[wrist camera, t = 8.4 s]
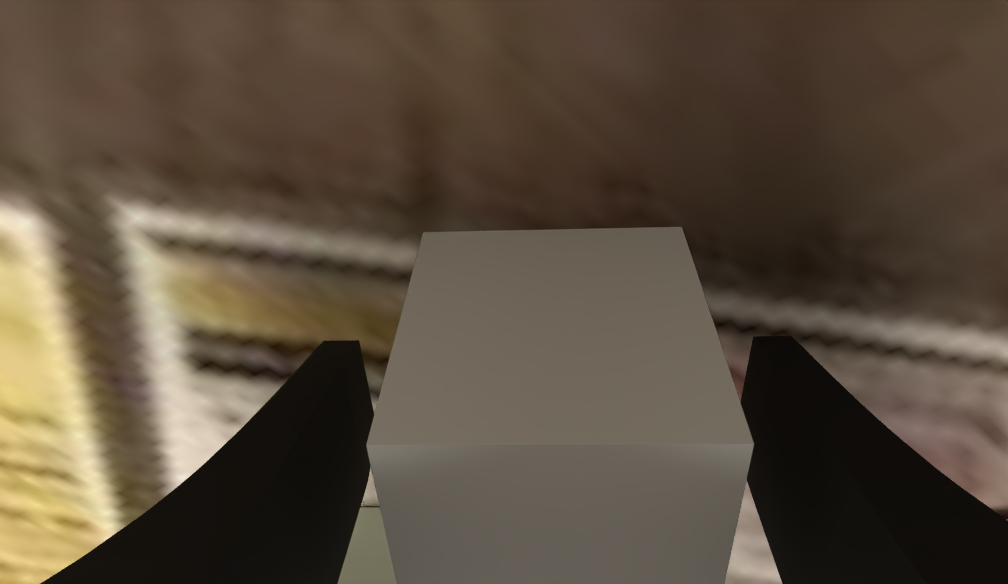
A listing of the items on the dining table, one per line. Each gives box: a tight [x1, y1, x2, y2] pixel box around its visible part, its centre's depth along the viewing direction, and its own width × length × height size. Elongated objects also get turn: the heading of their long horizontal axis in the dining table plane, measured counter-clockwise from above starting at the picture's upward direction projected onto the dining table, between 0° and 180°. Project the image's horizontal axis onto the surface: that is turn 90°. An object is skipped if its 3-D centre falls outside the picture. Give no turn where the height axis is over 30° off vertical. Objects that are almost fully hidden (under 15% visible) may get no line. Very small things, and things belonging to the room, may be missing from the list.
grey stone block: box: [366, 227, 754, 584], centre depth 11 cm, size 4×4×5 cm
